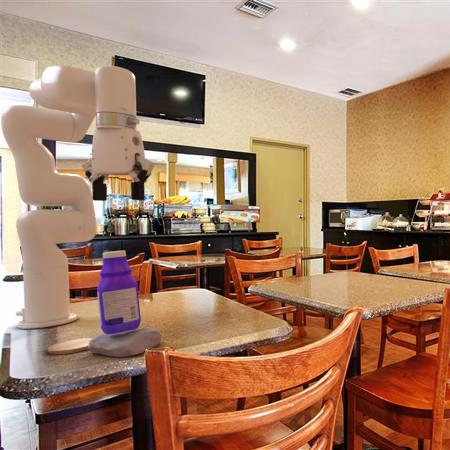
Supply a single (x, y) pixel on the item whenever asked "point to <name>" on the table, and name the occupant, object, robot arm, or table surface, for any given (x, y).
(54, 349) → the cork coaster
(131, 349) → the stone block
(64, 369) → the table surface
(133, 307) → the bottle
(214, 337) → the table surface
